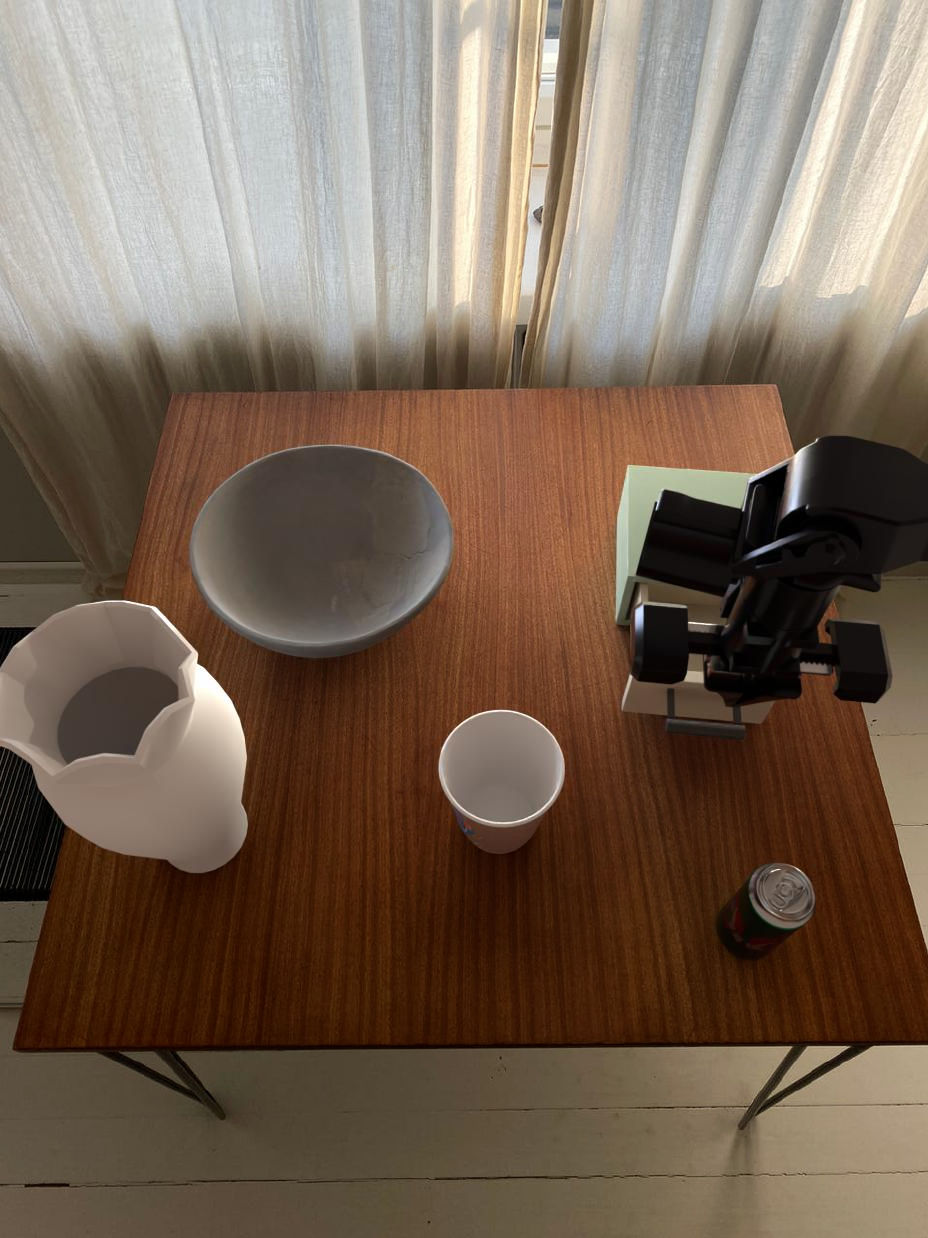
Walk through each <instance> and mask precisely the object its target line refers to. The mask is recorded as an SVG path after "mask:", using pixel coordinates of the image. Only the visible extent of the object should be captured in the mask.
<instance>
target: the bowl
mask: <svg viewBox="0 0 928 1238" xmlns="http://www.w3.org/2000/svg"><path fill="white" fill-rule="evenodd" d="M454 541H455V540H454V526H453V521H452V518H451V514H450V512H449V510H448V508H447V505H446V504H445V502H444V500H443V498H442V496H441V494H440V493H439V492H438V490H437V488H436V487H435V486H434V484H433V483H432V482H431V480H429V479H428V478H427V476H426V475H425V474H423V473H422V471H420V470H419V469H417V467H415V466H414V465H412V464H410V463H407V462H406V461H404V460H402V459H400V458H398V457H396V456H394V455H391V454H389V453H387V452H383V451H381V450H378V449H372V448H369V447H368V448H367V447H362V446H355V445H346V444H345V445H344V444H319V445H317V444H316V445H306V446H298V447H293V448H287V449H283V450H279V451H276V452H274V453H273V452H272V453H271V454H268V455H265V456H263V457H260V458H258V459H256V460H254V461H252V462H250V463H249V464H247V465H246V466H244V467H243V468H241V469H240V470H238V471H236V472H235V473H234V474H232V475H231V476H229V477H228V478H227V479H226V480H225V481H223V483H221V485H219V486H218V487H217V488H216V489H215V490H214V491H213V493H212V494H211V495H210V496H209V498H208V499H207V500H206V501H205V503H204V505H203V506H202V508H201V510H200V511H199V514H198V515H197V517H196V520H195V522H194V525H193V528H192V532H191V537H190V543H189V563H190V564H189V565H190V571H191V575H192V578H193V581H194V584H195V586H196V589H197V591H198V593H199V595H200V597H201V599H203V602H204V603H205V605H206V606H207V607H208V608H209V610H210V611H211V612H212V613H213V614H214V615H215V616H216V617H217V618H218V619H219V620H220V621H221V622H222V623H223V624H224V625H226V626H227V627H229V628H230V629H231V630H232V631H234V632H235V633H236V634H238V635H240V636H242V637H243V638H245V639H247V640H248V641H250V642H252V643H253V644H256V645H258V646H261V647H263V648H265V649H267V650H270V651H274V652H276V653H280V654H284V655H288V656H293V657H300V658H305V659H306V658H307V659H308V658H309V659H328V658H337V657H343V656H348V655H351V654H355V653H359V652H361V651H364V650H367V649H369V648H372V647H374V646H375V645H377V644H379V643H381V642H384V641H385V640H386V639H388V638H390V637H391V636H393V635H394V634H396V633H397V632H399V631H400V630H402V629H403V628H404V627H406V626H407V625H408V624H410V623H411V622H412V621H413V620H414V619H416V617H417V616H419V615H420V614H421V613H422V612H423V611H424V610H425V609H426V608H427V607H428V606H429V605H430V604H431V602H432V601H433V600H434V599H435V597H436V596H437V595H438V593H439V592H440V590H441V588H442V587H443V585H444V583H445V581H446V579H447V577H448V575H449V572H450V569H451V566H452V561H453V555H454V544H455V542H454Z"/></svg>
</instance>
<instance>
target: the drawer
mask: <svg viewBox="0 0 928 1238" xmlns="http://www.w3.org/2000/svg"><path fill="white" fill-rule="evenodd" d="M721 599H722V597H719V596H715V595H711V594H707V593H703V592H699V591H695V590H691V589H687V588H683V587H679V586H675V585H669V584H657V583H644V582H635V585H634V589H633V593H632V596H631V618H632V614H633V610H634V608H635V607H636V606H637V605H638V604H639V603H640V602H642V601H644V602H655V603H667V604H679V605H685V606H686V607H687V608H688V622H691V623H702V624H714V625H725V624H726V622H727V618H720V608H719V604H720V602H721ZM627 679H628V680H627V683H626V687H625V690H624V693H623V696H622V699H621V700H622V701H621V712H622V713H623V712H625V713H636V714H647V715H657V716H667V717H666V718H665V720H664V721H665V722H664V733H665V734H667V735H677V736H678V735H679V736H689V737H699V738H700V737H701V738H712V739H723V740H732V741H733V740H734V741H744V740H745V738H746V734H747V729H746V728H747V727H746V725H745V724H743V723H748V724H757V725H758V724H759V725H761V724H763V722H764V721H765V719H766V717H767V716H768V714H769V713H770V711H771V709H772V708H773V707H774V704H775V703H776V701H769V702H762V703H756V704H751V705H746V706H741V707H736V708H733V707H725V703H724V700H723V698H722V697H721V696H720V695H719V694H718V693H717V692H710V691H708V690H706V689H705V687H704V682H703V658H702V655H700V654H689V661H688V669H687V675H686V677H685V680H684V681H682V682H679V683H675V684H672V685H669V684H658V683H648V682H638V681H637V680H636V679H634V678H633V677H632V676H631V675H630V674H629V676H628V678H627ZM676 717H681V718H692V719H693V718H694V719H702V720H692V719H681V718H676ZM704 720H705V721H704ZM706 720H715V721H725V723H724V722H714V721H706ZM726 722H733V723H726Z"/></svg>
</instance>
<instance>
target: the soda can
mask: <svg viewBox="0 0 928 1238" xmlns="http://www.w3.org/2000/svg"><path fill="white" fill-rule="evenodd" d="M815 909H816V895H815V890H814V886H813V884H812V882H811V880H810V878H809V877H808V876H807V875H806V874H805V873H804V872H803V871H802V870H800V869H799V868H797V867H796V866H793V865H791V864H788V863H784V862H767V863H764V864H763V865H760V866H759V867H757V868H756V869H755V870H754V871H753V872H752V873H751V874H750V876H748V877H747V879H746V880H745V881H744V882H743V884H742V885H741V886H740V887H739V888H738V889H737V890H736V891H735V893H734V894H733V895H732V896H731V897H730V898H729V899H728V901H726V902H725V904H724V905H723V906H722V907H721V908H720V910H719V912H718V914H717V916H716V922H715V923H716V925H715V926H716V933H717V936H718V939H719V942H720V943H721V944H722V946H723V947H724V948H725V949H726V950H727V951H728V953H730V954H732V955H733V956H735V957H737V958H739V959H742V960H745V961H757V960H761V959H763V958H765V957H767V956H768V955H769V954H770V953H772V952H773V951H774V950H775V949H777V948H778V947H779V946H780V945H781V944H783V943H784V942H785V941H787V940H788V939H789V938H790V937H791V936H793V935H794V934H795V933H797V931H799V930H800V929H801V928H803V927H804V926H805V925H806V924H807V923H809V921H810V920H811V919H812V917H813V915H814V912H815Z"/></svg>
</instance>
